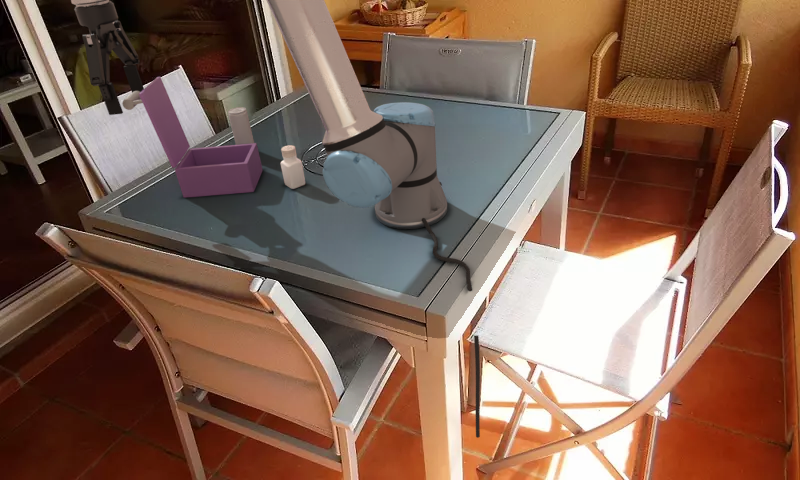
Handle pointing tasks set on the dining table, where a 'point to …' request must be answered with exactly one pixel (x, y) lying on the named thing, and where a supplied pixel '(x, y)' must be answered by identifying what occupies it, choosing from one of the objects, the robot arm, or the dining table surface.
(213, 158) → the file box
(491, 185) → the dining table surface
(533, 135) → the dining table surface
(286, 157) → the salt shaker
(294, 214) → the dining table surface
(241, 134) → the beverage can
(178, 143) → the lid
